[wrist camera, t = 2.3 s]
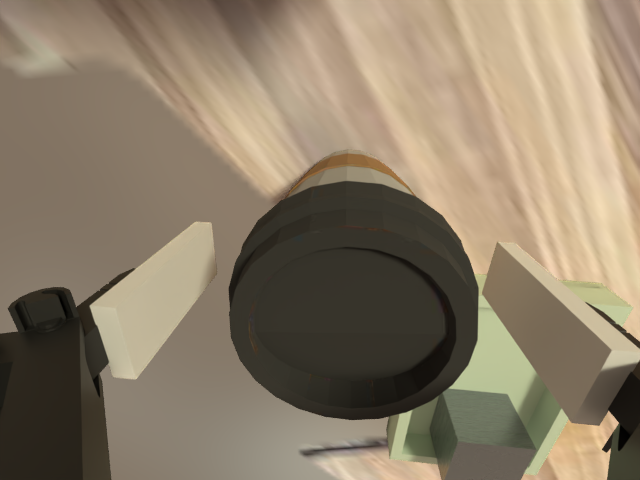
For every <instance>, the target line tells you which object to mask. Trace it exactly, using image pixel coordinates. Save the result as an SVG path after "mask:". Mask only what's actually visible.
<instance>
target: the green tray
mask: <svg viewBox="0 0 640 480" xmlns="http://www.w3.org/2000/svg"><path fill="white" fill-rule="evenodd" d="M474 275H475V278H476V281H477V284H478V287H479V301H478V341H477V344H476V346H475V349H474V352H473V354H472V357H471V360H470V362H469V365H468V366H467V367H466V369H465V370H464V371H463V372H462V374H461V375H460V376H459V378H458V379H457V380H456V381H455V383H454V384H453V385H452V386H451V387H449V389H460V390H470V391H481V392H491V393H502V394H508V396H509V398H510V400H511V402H512V404H513V406H514V408H515V409H516V411H517V413H518V415H519V417H520V419H521V421H522V423H523V425H524V426H525V428H526V430H527V432H528V434H529V436H530V438H531V440H532V442H533V444H534V445H535V447H536V449H537V451H536V452H535V454H534V456H533V458H532V460H531V462H530V463H529V465H528V467H527V469H526V471H525V473H524V474H529V475H537V473H538V471H539V470H540V468H541V466H542V464H543V463H544V461H545V459H546V458H547V456H548V454H549V452H550V451H551V449H552V447H553V445H554V444H555V442H556V440H557V439H558V437H559V435H560V433H561V432H562V430H563V428H564V426H565V425H566V423H567V421H568V420H569V418H568V417H567V416H566V414H565V413H564V411H563V410H562V408H561V407H560V406H559V404H558V403H557V401H556V400H555V398H554V397H553V395H552V394H551V393H550V391H549V390H548V388H547V387H546V385H545V384H544V382H543V381H542V380H541V378H540V377H539V375H538V374H537V372H536V371H535V370H534V368H533V367H532V365H531V364H530V362H529V361H528V359H527V358H526V357H525V355H524V354H523V352H522V351H521V349H520V348H519V346H518V345H517V344H516V342H515V341H514V339H513V338H512V336H511V335H510V333H509V332H508V331H507V329H506V328H505V326H504V325H503V323H502V322H501V321H500V319H499V318H498V316H497V315H496V313H495V312H494V310H493V309H492V308H491V306H490V305H489V303H488V302H487V300H486V299H485V297H484V296H483V295H482V291H483V287H484V284H485V281H486V277H487V275H481V274H474ZM559 281H560V282H562V283H563V284H564V285H565V286H566V287H567V288H569V289H570V290H571V291H572V292H573V293H574V294H576V295H577V296H578V297H579V298H580V299H581V300H583V301H584V302H587V303H589V304H590V305H592V306H594V307H596V308H598V309H599V310H601V311H603V312H604V313H605V314H607V315H608V316H609V317H610V318H611V319H613V320H614V321H615V322H616V324H619V325H620V326H621V327H622V326H623V325H624V323H625V321H626V319H627V318H628V316H629V314H630V312H631V311H632V309H633V307H632V306H631V305H630V304H628V303H627V302H626V301H624V300H623V299H622V298H620V297H619V296H618V295H616V294H615V293H614V292H612V291H611V290H610V289H608V288H607V287H606V286H604V285H603V284H602V283H590V282H576V281H562V280H559ZM438 397H439V396H437V397H436V398H435V399H433V400H432V401H431V402H428V403H426V404H424V405H422V406H420V407H417V408H415V409H413V410H411V411H408V412H406V413H402V414H397V415H393V416H389V420H388V425H387V439H388V448H389V457H390V459H394V460H403V461H412V462H421V463H430V464H438V463H437V459H436V454H435V450H434V446H433V442H432V438H431V434H430V430H429V428H430V425H431V421H432V418H433V414H434V411H435V408H436V404H437V401H438Z"/></svg>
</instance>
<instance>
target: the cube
mask: <svg viewBox="0 0 640 480" xmlns="http://www.w3.org/2000/svg"><path fill="white" fill-rule="evenodd" d="M429 430H430V434H431V438H432V442H433V446H434V450H435V454H436V459H437V463H438V467H439V471H440V475H441V479H442V480H521V478H522V476H523V474H524V473H525V471H526V469H527V467H528V465H529V463H530V462H531V460H532V458H533V456H534V454H535V452H536V451H537V449H536V447H535V445H534V444H533V442H532V440H531V438H530V436H529V434H528V432H527V430H526V428H525V426H524V425H523V423H522V421H521V419H520V417H519V415H518V413H517V411H516V409H515V408H514V406H513V404H512V402H511V400H510V398H509V396H508V394H502V393H491V392H481V391H470V390H460V389H449V388H448V389H447V390H445V391H444V392H443V393H441V394H440V395H439V397H438V401H437V404H436V408H435V411H434V414H433V418H432V421H431V425H430V428H429Z"/></svg>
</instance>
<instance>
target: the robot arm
mask: <svg viewBox="0 0 640 480" xmlns="http://www.w3.org/2000/svg"><path fill="white" fill-rule="evenodd" d="M216 274H217V268H216V258H215V250H214V241H213V232H212V224H211V223H208V222H195V223H193V224H192V225H191V226H190V227H188V228H187V229H186V230H185V231H183V232H182V233H181V234H179V235H178V236H177V237H176V238H175V239H173V240H172V241H171V242H169V243H168V244H167V245H166V246H164V247H163V248H162V249H161V250H160V251H158V252H157V253H155V254H154V255H153V256H152V257H150V258H149V259H148V260H147V261H145V262H144V263H143V264H142V265H140V266H139V267H138V268H137V269H134V268H133V269H131V270H129V271H126V272H124V273H122V274H120V275H118V276H117V277H116V278H114V279H113V280H112V281H110V282H109V284H106V285H105V286H104V287H102V288H101V289H100V291H97V292H96V293H95V294H93V295H92V296H91V297H89V298H88V299H87V300H85V301H84V302H83V303H81V304H80V305H79V306H77V307H76V305H75V303H74V300H73V297H72V294H71V292H70V290H69V289H66V288H63V287H53V288H46V289H41V290H38V291H35V292H31V293H29V294H27V295H24V296H22V297H20V298H19V299H17V300H16V301H14V302H13V303H12V304H11V305H10V306H9V308H8V310H9V312H10V314H11V316H12V318H13V321H14V323H15V325H16V327H17V329H18V331H19V332H11V333H3V334H0V480H111V471H110V463H109V462H110V461H109V450H108V440H107V429H106V418H105V408H104V397H103V386H102V380H101V377H100V374H99V373H100V372H101V371H102V370H103V369H104V368H105V366H106V365H107V364H109V367H110V370H111V373H112V376H113V377H114V378H125V379H134V380H136V379H137V378H138V376H139V375H140V374H141V372H142V371H143V370H144V369H145V367H146V366H147V365H148V364H149V362H150V361H151V360H152V358H153V357H154V356H155V354H156V353H157V352H158V350H159V349H160V348H161V346H162V345H163V344H164V342H165V341H166V340H167V338H168V337H169V336H170V334H171V333H172V332H173V331H174V329H175V328H176V327H177V325H178V324H179V323H180V321H181V320H182V319H183V317H184V316H185V315H186V313H187V312H188V311H189V310H190V308H191V307H192V306H193V304H194V303H195V302H196V300H197V299H198V298H199V296H200V295H201V294H202V293H203V291H204V290H205V289H206V287H207V286H208V285H209V283H210V282H211V281H212V279H213V278H214V277H215V275H216ZM482 295H483V296H484V297H485V299H486V300H487V302H488V303H489V305H490V306H491V308H492V309H493V310H494V312H495V313H496V315H497V316H498V318H499V319H500V321H501V322H502V323H503V325H504V326H505V328H506V329H507V331H508V332H509V333H510V335H511V336H512V338H513V339H514V341H515V342H516V344H517V345H518V346H519V348H520V349H521V351H522V352H523V354H524V355H525V357H526V358H527V359H528V361H529V362H530V364H531V365H532V367H533V368H534V370H535V371H536V372H537V374H538V375H539V377H540V378H541V380H542V381H543V382H544V384H545V385H546V387H547V388H548V390H549V391H550V393H551V394H552V395H553V397H554V398H555V400H556V401H557V403H558V404H559V406H560V407H561V408H562V410H563V411H564V413H565V414H566V416H567V417H568V418H569V420H570V421H571V423H578V424H588V425H598V426H599V425H600V424H601V422H602V420H603V419H604V417H605V416H606V414H607V412H608V411H610V413H611V414H612V415H613V416H614V417H615V418H616V420H617V421H618V422H619V424H618V426H617V427H616V429H615V430H614V432H613V433H612V435H611V436H610V438H609V440H608V441H607V443H606V444H605V446H604V447H603V449H602V450H603V451H605V452H608V451H609V449H610V448H611V454H610V462H609V469H608V477H607V480H640V342H639V341H638V340H637V339H636V338H634V337H633V336H632V335H631V334H630V333H626V330H625V329H624V328H622V327H621V326H620V325H619V324H616V322H615V321H614V320H613V319H611V318H610V317H609V316H608V315H607V314H605V313H604V312H603V311H601V310H599V309H598V308H596V307H594V306H592V305H590V304H589V303H587V302H584V301H583V300H581V299H580V298H579V297H578V296H577V295H576V294H574V293H573V292H572V291H571V290H570V289H569V288H567V287H566V286H565V285H564V284H563V283H562V282H560V281H559V280H558V279H557V278H556V277H554V276H553V275H552V274H551V273H550V272H549V271H547V270H546V269H545V268H544V267H543V266H542V265H540V264H539V263H538V262H537V261H536V260H534V259H533V258H532V257H531V256H530V255H529V254H527V253H526V252H525V251H524V250H523V249H522V248H520V247H519V246H518V245H517V244H516V243H510V242H497V244H496V247H495V251H494V254H493V257H492V261H491V264H490V267H489V271H488V274H487V277H486V281H485V284H484V287H483V291H482Z"/></svg>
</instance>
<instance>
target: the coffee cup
mask: <svg viewBox="0 0 640 480" xmlns="http://www.w3.org/2000/svg"><path fill="white" fill-rule="evenodd" d="M229 300H230V312H229V316H230V330H231V339H232V341H233V344H234V346H235V349H236V351H237V353H238V356H239V359H240V361H241V362H242V363H243V365H244V366H245V367H246V369H247V370H248V371H249V372H250V374H251V375H252V376H253V378H254V379H255V380H256V381H257V382H258V383H259V384H261V385H262V386H263V387H264V388H266V389H267V390H268V391H269V392H270V393H272V394H273V395H274V396H275V397H277V398H279V399H281V400H283V401H285V402H287V403H289V404H291V405H293V406H295V407H296V408H298V409H302V410H305V411H308V412H312V413H315V414H318V415H321V416H324V417H332V418H340V419H348V420H362V419H380V418H384V417H389V416H393V415H397V414H402V413H406V412H408V411H411V410H413V409H415V408H417V407H420V406H422V405H424V404H426V403H428V402H431V401H432V400H433V399H435V398H436V397H437V396H439V395H440V394H441V393H443V392H444V391H445V390H447V389H448V388H449V387H451V386H452V385H453V384H454V383H455V381H456V380H457V379H458V378H459V376H460V375H461V374H462V372H463V371H464V370H465V369H466V367H467V366H468V365H469V362H470V360H471V357H472V354H473V352H474V349H475V346H476V344H477V341H478V301H479V287H478V284H477V281H476V278H475V275H474V272H473V269H472V266H471V263H470V260H469V258H468V256H467V254H466V253H465V251H464V249H463V246H462V243H461V240H460V239H459V237H458V236H457V235H456V233H455V232H454V231H453V229H452V228H451V227H450V225H449V224H448V223H447V221H446V220H445V219H444V217H443V216H442V215H441V214H439V213H438V212H437V211H435V210H434V209H432V208H431V207H430V206H428V205H427V204H425V203H424V202H423V201H421V200H420V199H419V198H417V197H416V196H415V195H414V193H413V192H412V191H411V190H410V188H409V187H408V186H407V185H406V184H405V183H404V182H403V181H402V180H401V179H400V178H399V177H398V176H397V175H396V174H395V173H394V172H393V171H392V170H391V169H390V168H388V167H387V166H386V165H384V164H383V163H382V162H381V161H380V160H378V159H377V158H375V157H374V156H373V155H371V154H368V153H365V152H363V151H357V150H344V151H338V152H335V153H333V154H331V155H328V156H326V157H324V158H323V159H322V160H321V161H320V162H319V163H318V164H316V165H315V166H314V167H313V168H312V169H311V170H310V171H308V172H307V173H306V174H305V175H304V176H303V178H302V179H301V180H300V181H299V182H298V183H297V184H296V185H295V186H294V187H293V188H292V189H291V190H290V192H289V193H288V195H287V196H286V197H285V199H284V200H281V201H280V202H279V203H278V204H277V205H276V206H274V207H273V208H272V209H271V210H270V211H269V212H267V214H265V215H264V216H263V217H262V218H260V219H259V220H258V222H257V223H256V225H255V226H254V228H253V229H252V231H251V233H250V234H249V236H248V237H247V239H246V241H245V242H244V244H243V246H242V250H241V253H240V255H239V257H238V258H237V260H236V263H235V266H234V270H233V274H232V278H231V282H230V286H229Z"/></svg>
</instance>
